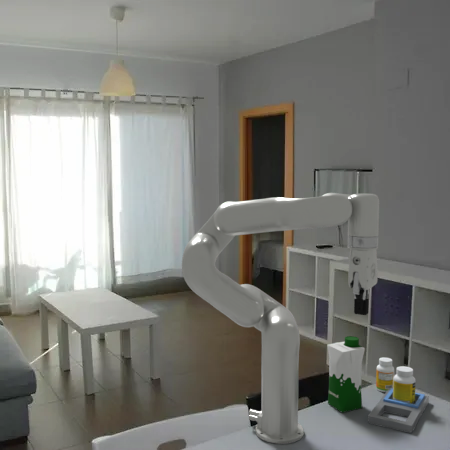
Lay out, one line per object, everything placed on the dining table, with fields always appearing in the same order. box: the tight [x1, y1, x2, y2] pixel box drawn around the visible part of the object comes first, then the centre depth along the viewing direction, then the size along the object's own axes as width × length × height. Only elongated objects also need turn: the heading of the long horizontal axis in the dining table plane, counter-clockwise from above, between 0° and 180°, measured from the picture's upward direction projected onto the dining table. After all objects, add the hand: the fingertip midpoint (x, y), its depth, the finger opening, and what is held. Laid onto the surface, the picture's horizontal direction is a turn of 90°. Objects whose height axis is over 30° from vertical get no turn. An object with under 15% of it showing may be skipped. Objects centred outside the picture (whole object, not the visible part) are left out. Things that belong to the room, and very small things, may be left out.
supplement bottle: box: [375, 356, 395, 393], centre depth 174 cm, size 5×5×10 cm
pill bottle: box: [393, 365, 417, 404], centre depth 162 cm, size 6×6×11 cm
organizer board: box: [367, 388, 430, 434], centre depth 158 cm, size 12×22×3 cm, turn 149°
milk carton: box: [327, 335, 366, 413], centre depth 162 cm, size 9×9×20 cm
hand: (361, 313), depth 142 cm, fingers closed
